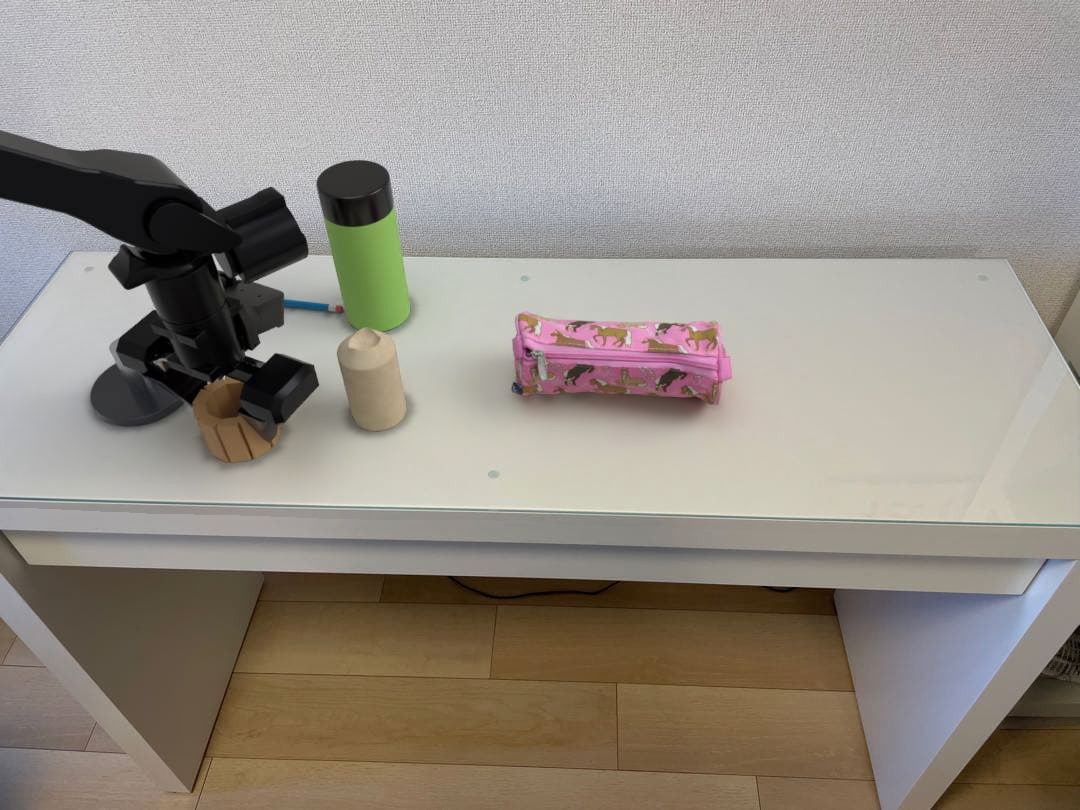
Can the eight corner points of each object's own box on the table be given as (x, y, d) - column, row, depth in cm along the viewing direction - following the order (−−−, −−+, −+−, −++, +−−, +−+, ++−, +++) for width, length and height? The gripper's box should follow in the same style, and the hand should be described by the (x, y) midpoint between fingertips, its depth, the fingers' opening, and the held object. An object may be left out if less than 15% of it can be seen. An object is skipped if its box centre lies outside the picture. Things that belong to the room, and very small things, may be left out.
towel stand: (99, 439, 84) (73, 393, 80) (88, 376, 91) (63, 330, 86) (202, 406, 87) (182, 360, 83) (184, 347, 94) (164, 301, 89)
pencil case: (509, 416, 86) (505, 351, 79) (519, 353, 92) (516, 289, 86) (724, 428, 84) (738, 363, 78) (719, 363, 91) (731, 298, 84)
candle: (359, 390, 89) (342, 317, 81) (411, 394, 88) (399, 320, 81) (346, 430, 85) (326, 356, 78) (400, 433, 84) (386, 359, 77)
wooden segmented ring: (216, 472, 81) (200, 437, 78) (201, 423, 86) (186, 387, 82) (288, 447, 83) (276, 412, 80) (270, 400, 88) (258, 365, 84)
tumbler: (333, 311, 98) (299, 177, 85) (387, 282, 101) (361, 149, 88) (371, 342, 94) (341, 207, 81) (425, 311, 97) (404, 177, 85)
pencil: (341, 313, 97) (340, 309, 97) (202, 297, 99) (200, 293, 99) (343, 309, 98) (342, 304, 97) (205, 293, 100) (203, 289, 99)
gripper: (338, 277, 74) (366, 401, 86) (173, 225, 80) (220, 348, 91) (256, 356, 67) (299, 480, 79) (82, 294, 73) (145, 417, 85)
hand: (240, 426), depth 84 cm, fingers closed on wooden segmented ring, 7 cm apart
